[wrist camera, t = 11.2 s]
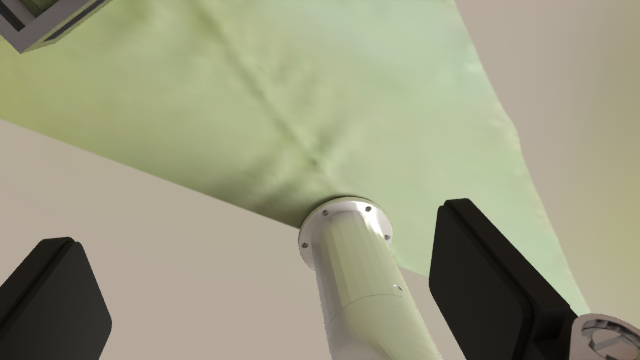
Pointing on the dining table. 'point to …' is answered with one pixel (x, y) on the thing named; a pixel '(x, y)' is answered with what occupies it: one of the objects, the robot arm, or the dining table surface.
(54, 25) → the grey open cube frame
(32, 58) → the dining table surface
